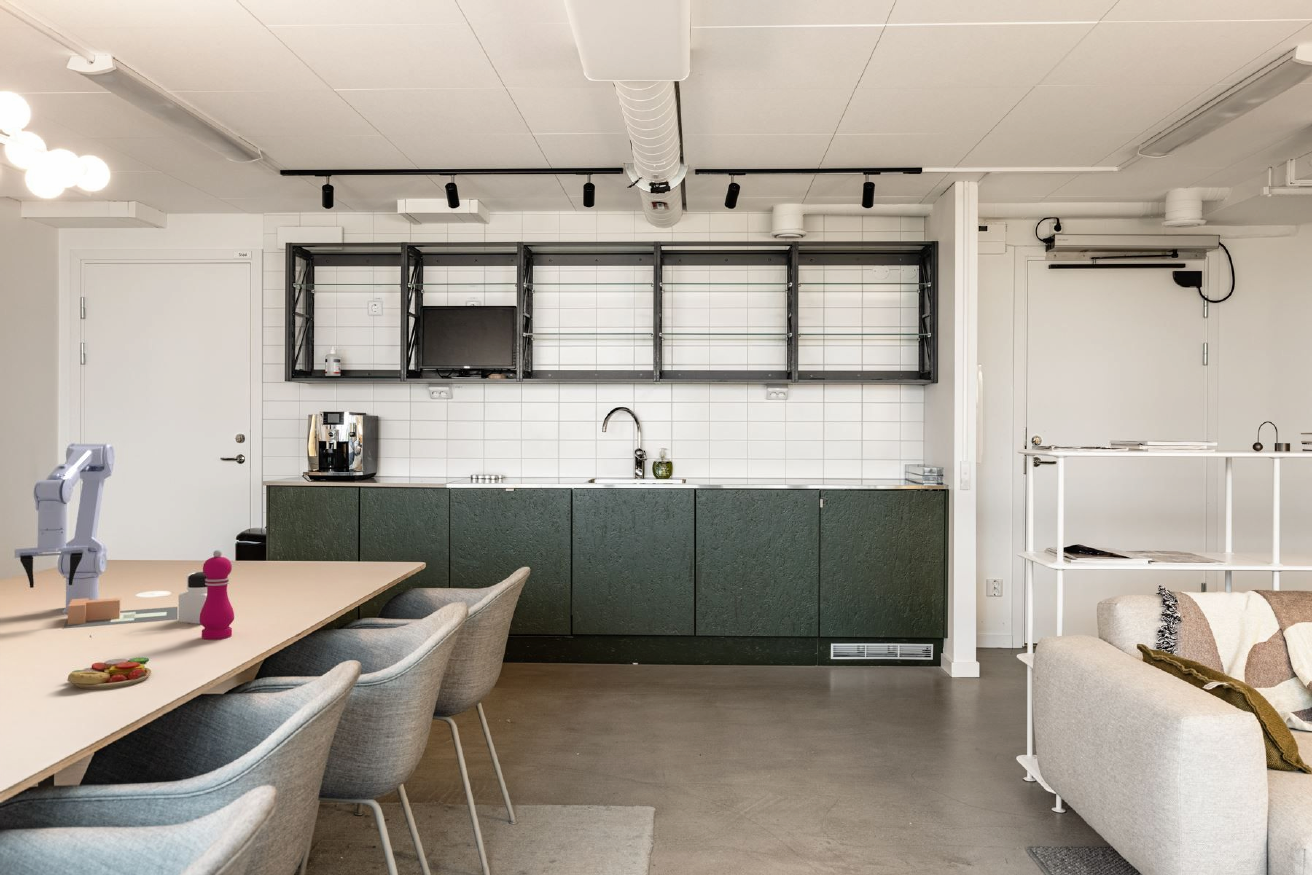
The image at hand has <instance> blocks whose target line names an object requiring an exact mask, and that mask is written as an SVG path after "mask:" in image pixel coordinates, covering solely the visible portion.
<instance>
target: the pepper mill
mask: <svg viewBox="0 0 1312 875" xmlns="http://www.w3.org/2000/svg"><path fill="white" fill-rule="evenodd" d="M212 554H213V557H210V558H207V560H205V562H204V563H203V565H202V572H203V573H204V574H205V575H206V577H207V578H206V579H205V581H206V583H205V585H207V597H206V601H205V603H204V605H203V608H202V610H201V613H200V619H199V621H200V623H201V624H200V625H201V626H202V627H203V629H202V630H201V639H203V640H208V641H212V640H213V641H217V640H224V639H227V638H230V637H232V634H233V629H232V627H231V626H230V625H232V623H233V622H234V621H235V610H234V609H233V606H232V604H231V602H230V599H229V595H228V585H229V584H230V577H228V576H229V575H230V574H231V573H232V570H233V569H232V568H233V566H232V565H233V564H232V562H231V561H230V559H228V558H227V557H225V556H222V554H223V553H222V551H221V550H219V549H216V550H214V551H213V553H212Z"/></svg>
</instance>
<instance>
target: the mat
mask: <svg viewBox="0 0 1312 875" xmlns="http://www.w3.org/2000/svg"><path fill="white" fill-rule="evenodd" d="M178 609H179V606H169V607H154V608H143V609H141V608H139V609H130V610H120V618H118V619H106V620H93V621H86V622H85V624H73V625H68V618H67V619H66V621H65V623H64V624H63V626H62V628H61V629H62V630H63V629H75V628H86V627H87V628H88V627H99V626H102V627H103V626H112V625H113V626H114V625H125V624H137V623H139V624H141V623H151V622H163V621H178Z"/></svg>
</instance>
